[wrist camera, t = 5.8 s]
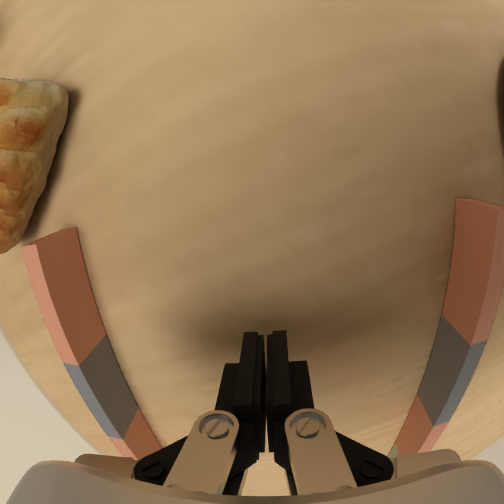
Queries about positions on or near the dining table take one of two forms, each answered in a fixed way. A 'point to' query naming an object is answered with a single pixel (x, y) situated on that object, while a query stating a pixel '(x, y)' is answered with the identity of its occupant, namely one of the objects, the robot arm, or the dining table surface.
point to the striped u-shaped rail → (431, 389)
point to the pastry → (26, 149)
